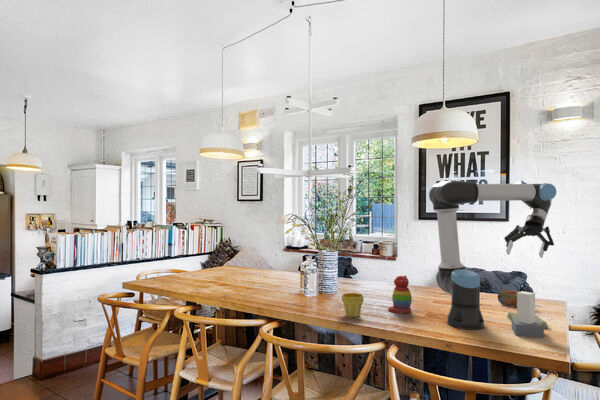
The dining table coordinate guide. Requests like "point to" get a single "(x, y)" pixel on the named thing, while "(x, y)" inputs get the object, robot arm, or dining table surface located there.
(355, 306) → the plant pot
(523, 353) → the dining table surface
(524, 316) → the cream block
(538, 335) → the charcoal base block
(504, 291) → the brown flat oval
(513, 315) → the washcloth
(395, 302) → the stacking bear
